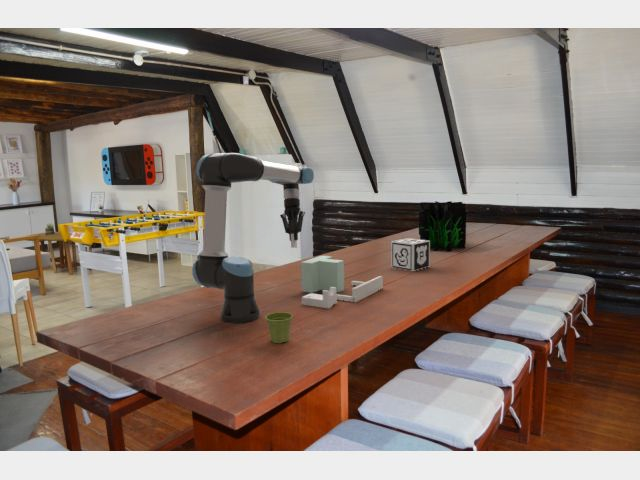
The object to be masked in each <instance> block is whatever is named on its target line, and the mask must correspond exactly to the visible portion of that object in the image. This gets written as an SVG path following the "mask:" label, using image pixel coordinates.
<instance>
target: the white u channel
mask: <svg viewBox="0 0 640 480" xmlns="http://www.w3.org/2000/svg"><path fill="white" fill-rule="evenodd" d="M383 281H384V279H383V275H379V276H376V277H374V278H373V279H370V280H367V281H360V280H359V281H358V280H351V283H350V284H351V286H353V285H356V286H354V287H352V289H351V295H345V294H338V293H337V300H338V301H343V300H344V301H345V302H349V301H350V303H357V302H360V301H361V300H363V299H365V298H367V297H369V296H371V295H373V294H375V293H377V292H378V290H379V291H381V290H383V289H382V288H384V287H383V285H384V284H383ZM380 289H381V290H380Z"/></svg>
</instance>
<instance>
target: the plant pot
mask: <svg viewBox="0 0 640 480" xmlns="http://www.w3.org/2000/svg"><path fill="white" fill-rule="evenodd" d="M293 318H294V317H293V314H292V313H290V312H285V311H283V312H282V311H279V312H273V313H272V312H271V313H268V314H267V315H266V316H264V319H265V321H266V322H267V325H268V332H269V336H270V340H271V342H272V343H274V344H282V343H287V342H288V341H290V333H291V322H292V319H293Z"/></svg>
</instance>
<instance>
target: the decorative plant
mask: <svg viewBox="0 0 640 480" xmlns="http://www.w3.org/2000/svg"><path fill="white" fill-rule="evenodd" d="M418 235H419V239H420V240H429V241H430V250H431V249H432V252H437V251H439V249H440V250H444V251H446V252H452V251H453V249H465V248H466V244H467V243H466V241H467V240H466V239H467V237H466V236H467V208H466V203H463V201H451V200H450V201H445V202H440V201H434V202H420V203H419V210H418Z"/></svg>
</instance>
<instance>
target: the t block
mask: <svg viewBox="0 0 640 480" xmlns="http://www.w3.org/2000/svg"><path fill="white" fill-rule="evenodd" d="M300 273H301V274H300V275H301V292H304V293H308V294H310V293H313V294H315V293H316V292H318V291H323V290H326V291H330V287H336V292H338V293H340V292H342V291H344V290H345V261H344V260H341V259H333V255H331V256H330V255H323V254H322V255H319V256H316V257H313V258H309V259H307V260H303V261H301V262H300Z"/></svg>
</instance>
